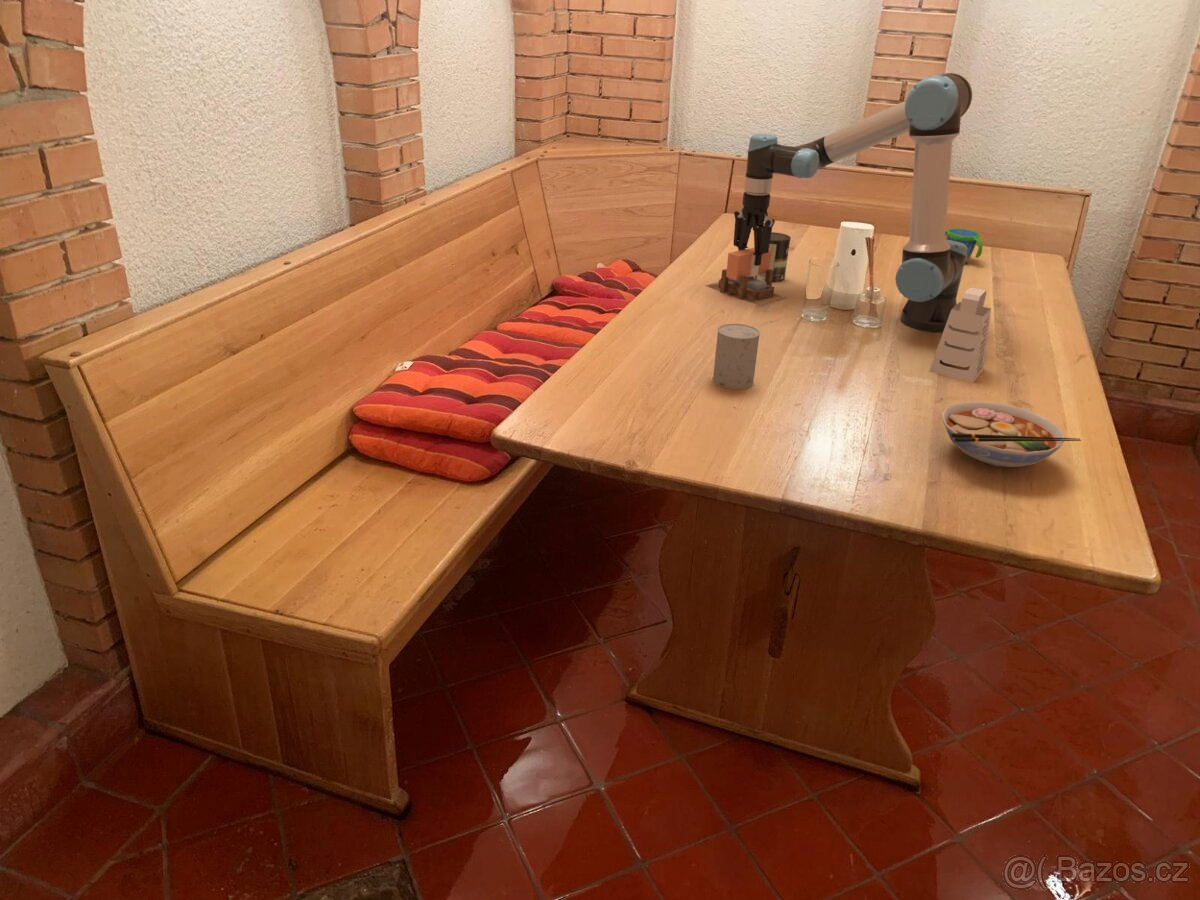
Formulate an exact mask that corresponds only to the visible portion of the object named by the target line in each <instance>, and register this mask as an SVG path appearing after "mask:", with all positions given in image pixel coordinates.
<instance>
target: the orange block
mask: <svg viewBox="0 0 1200 900" xmlns="http://www.w3.org/2000/svg"><path fill="white" fill-rule="evenodd" d="M771 251H772V249H769V251H768V253H765V254H762V258H761V264H760V265H759V269H758V275H761V274H765V273H766V270H768V269H769V267H770V259H771ZM753 253H755V251H754V247H750V248H745V250H740V251H738V250H736V251H732V252H728V255H727V262H726V263H727V265H726V269H727V272H726V277H728V278H731V279H734V280H740V276H743V275H745V276H748V277H750V269H751V260H752V254H753Z"/></svg>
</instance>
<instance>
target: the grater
mask: <svg viewBox="0 0 1200 900" xmlns="http://www.w3.org/2000/svg"><path fill="white" fill-rule="evenodd" d="M986 297H987V290H986V289H985V290H984V289H980V288H976V287H968V289H967V290H965V292H964V293H963V295H962V299H961V301H959V302H958V303H957V305H956V306H955V307H954V308H952V309H951V312H950V315H949V317H948V320H947V323H946V326H945V328H944V331H943V332H942V334H941V337H940V339H939V343H938V346H937V348H936V350H935V353H934V355H933V360H932V362H931V365H930V367H929V369H928V372H930V373H934V374H937V375H942V376H945V377H950V378H954V379H959V380H961V381H966V382H970V383H974V382H975V381H976V379H978V377H979V376H980V375H981V374H982V373H983V371H984V369H985V364H986V355H987V348H988V347H987V346H988V340H989V339H988V337H989V329H990V322H991V321H990V320H991V312H992V308H991V307H987V306H984V305H985V301H986ZM941 361H942V362H943V363H944V364H949V365H953V366H956V367H961V368H964V369H965V368H968V369H965V370H964V369H959V368H955V367H950V366H947V365H943V364H942V363H940V362H941Z"/></svg>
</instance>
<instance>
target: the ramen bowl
mask: <svg viewBox="0 0 1200 900" xmlns="http://www.w3.org/2000/svg"><path fill="white" fill-rule="evenodd" d="M941 418H942V421H943V424H944V426H945V430H946V432H947V434H948V437H949V439H950V440H951V442H952V443H953V444H954V445H955V446H956V447H957V448H958V449H959V450H961V451H962V452H963V453H964V454H966V455H967V456H969V457H971V458H972V459H975V460H977V461H980V462H982V463H983V464H987V465H988V466H989V465H990V466H993V467H1005V468H1007V467H1008V468H1018V467H1026V466H1027V467H1028V466H1031V465H1034V464H1036V463H1038V462H1040V461H1043V460H1045V459H1046V458H1048V457H1050V456H1052V455H1053V454H1054V453H1056V452H1057V451H1058V450H1059V449H1060V448H1061V447H1062V446H1063V443H1064V442H1080V441H1082V439H1078V438H1073V437H1072V438H1071V437H1066V435H1065V433H1064V432H1063V430H1062V429H1061V427H1060V426H1059V425H1057V424H1056V423H1054V422H1053V421H1052V420H1050V419H1049V418H1047V417H1046V416H1043V415H1041V414H1038V413H1035V412H1033V411H1031V410H1029V409H1026V408H1023V407H1018V406H1015V405H1010V404H1006V403H1002V402H995V401H994V402H993V401H981V400H973V401H961V402H957V403H955V404H952V405H949V406H946V407H945V409H944V411H942V413H941Z"/></svg>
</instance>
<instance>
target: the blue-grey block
mask: <svg viewBox="0 0 1200 900" xmlns="http://www.w3.org/2000/svg"><path fill="white" fill-rule="evenodd" d="M728 281H730V282H733V283H736V284H739V283H740V280H734V279H731V278H729V280H728ZM747 288H750V289H753V290H756V291H760V290H764V289H766V288H767V282H764V281H761V280H758V279H755V278H752V277H748V279H747Z"/></svg>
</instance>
